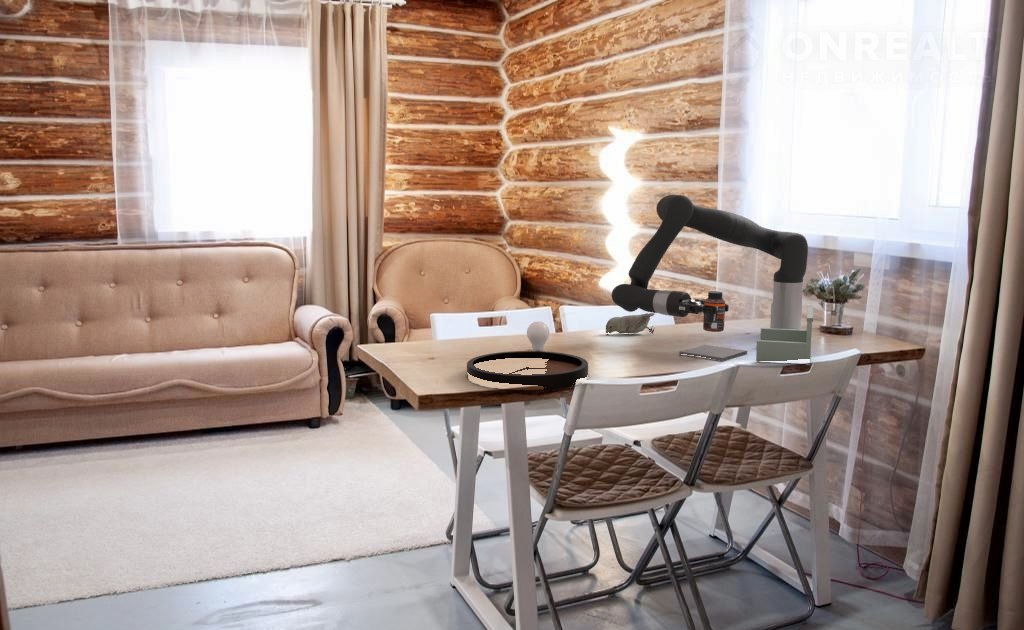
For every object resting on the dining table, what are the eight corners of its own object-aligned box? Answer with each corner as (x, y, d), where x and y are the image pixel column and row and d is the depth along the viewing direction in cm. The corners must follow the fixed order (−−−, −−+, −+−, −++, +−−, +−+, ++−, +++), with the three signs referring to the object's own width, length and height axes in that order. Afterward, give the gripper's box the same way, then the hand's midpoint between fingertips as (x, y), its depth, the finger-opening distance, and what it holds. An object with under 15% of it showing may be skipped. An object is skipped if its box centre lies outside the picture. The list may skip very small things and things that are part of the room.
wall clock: (550, 346, 243) (611, 367, 215) (550, 360, 243) (611, 383, 216) (448, 357, 229) (499, 381, 201) (448, 372, 229) (499, 397, 202)
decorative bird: (604, 334, 285) (604, 311, 284) (652, 333, 286) (652, 311, 284) (607, 337, 279) (607, 314, 278) (655, 336, 280) (656, 314, 279)
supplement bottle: (719, 333, 244) (721, 293, 242) (699, 330, 247) (701, 292, 246) (727, 330, 249) (729, 291, 247) (707, 328, 252) (709, 289, 250)
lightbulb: (544, 356, 247) (543, 319, 245) (552, 361, 241) (552, 322, 239) (523, 358, 245) (523, 320, 243) (532, 363, 239) (531, 324, 237)
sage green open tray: (756, 362, 238) (757, 315, 236) (760, 347, 259) (762, 304, 257) (810, 365, 234) (813, 318, 232) (810, 350, 254) (812, 306, 252)
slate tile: (679, 354, 249) (679, 351, 249) (704, 347, 259) (704, 344, 259) (723, 361, 239) (723, 357, 239) (747, 353, 249) (747, 350, 249)
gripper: (659, 293, 251) (709, 298, 240) (685, 288, 261) (735, 293, 250) (658, 318, 252) (708, 325, 241) (684, 312, 262) (734, 319, 251)
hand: (722, 309), depth 245 cm, fingers closed on supplement bottle, 6 cm apart
